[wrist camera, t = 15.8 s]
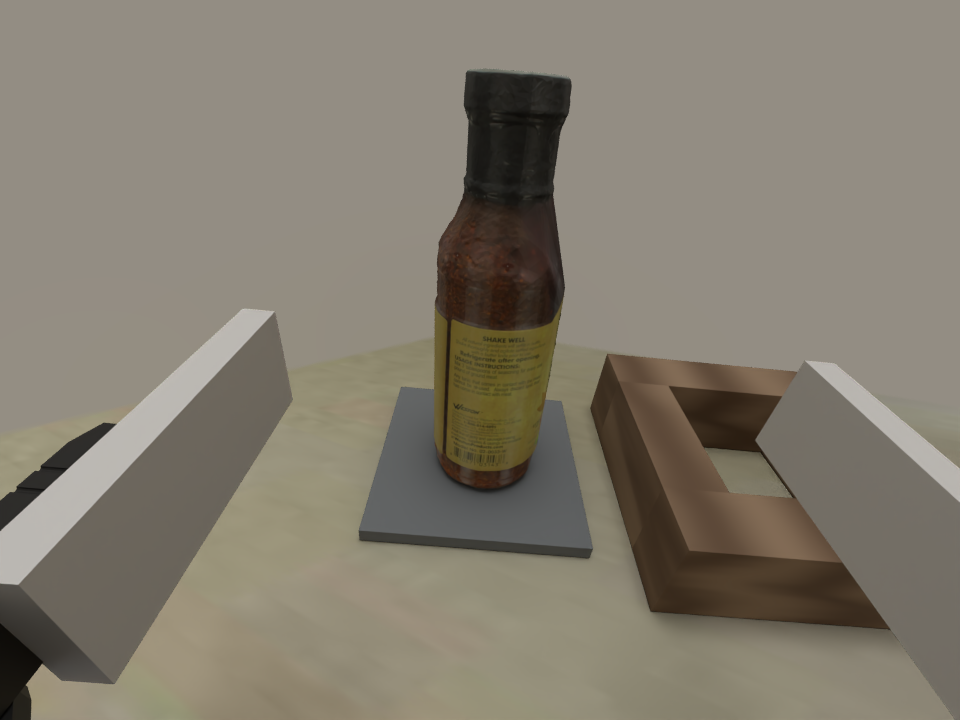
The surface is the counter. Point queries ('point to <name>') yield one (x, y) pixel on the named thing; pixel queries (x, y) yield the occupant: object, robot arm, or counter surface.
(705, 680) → the counter surface
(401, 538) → the mat
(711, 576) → the rectangular frame
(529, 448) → the sauce bottle
